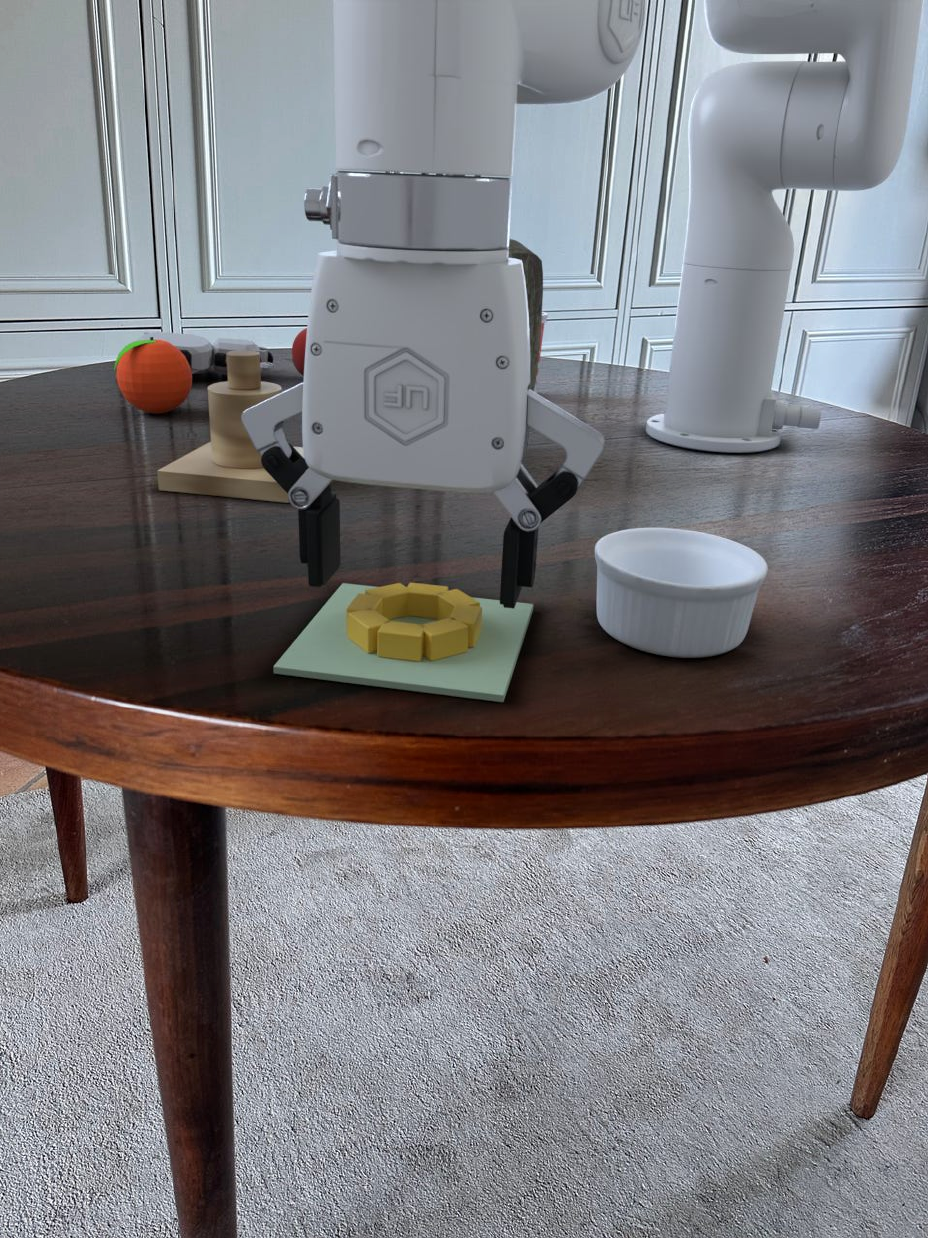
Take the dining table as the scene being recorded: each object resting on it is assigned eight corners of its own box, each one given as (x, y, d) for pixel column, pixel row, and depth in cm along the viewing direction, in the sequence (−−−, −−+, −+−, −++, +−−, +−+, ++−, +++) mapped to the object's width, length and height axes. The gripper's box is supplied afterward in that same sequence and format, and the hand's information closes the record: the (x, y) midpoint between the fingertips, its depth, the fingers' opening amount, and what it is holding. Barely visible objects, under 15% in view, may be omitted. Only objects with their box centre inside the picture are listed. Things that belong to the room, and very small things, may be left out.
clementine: (144, 426, 90) (136, 346, 87) (95, 414, 94) (86, 337, 91) (209, 412, 97) (205, 337, 94) (161, 402, 100) (155, 329, 97)
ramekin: (716, 595, 58) (727, 525, 56) (783, 663, 50) (798, 583, 48) (569, 599, 57) (576, 527, 55) (614, 669, 49) (624, 587, 47)
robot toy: (269, 374, 120) (140, 365, 116) (271, 336, 118) (139, 325, 115) (275, 395, 109) (132, 385, 105) (277, 353, 108) (131, 341, 104)
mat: (533, 610, 55) (533, 603, 55) (503, 702, 45) (503, 695, 45) (342, 589, 57) (342, 582, 56) (273, 673, 47) (273, 666, 47)
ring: (488, 614, 53) (489, 590, 53) (465, 668, 47) (466, 641, 47) (369, 601, 54) (369, 577, 54) (332, 652, 48) (332, 625, 48)
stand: (331, 467, 80) (329, 347, 76) (288, 503, 71) (284, 368, 67) (215, 457, 82) (207, 338, 78) (158, 490, 73) (147, 358, 69)
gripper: (198, 215, 41) (224, 597, 48) (620, 236, 38) (582, 637, 45) (265, 210, 48) (279, 546, 55) (628, 228, 45) (593, 578, 52)
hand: (416, 587), depth 50 cm, fingers open, 9 cm apart
